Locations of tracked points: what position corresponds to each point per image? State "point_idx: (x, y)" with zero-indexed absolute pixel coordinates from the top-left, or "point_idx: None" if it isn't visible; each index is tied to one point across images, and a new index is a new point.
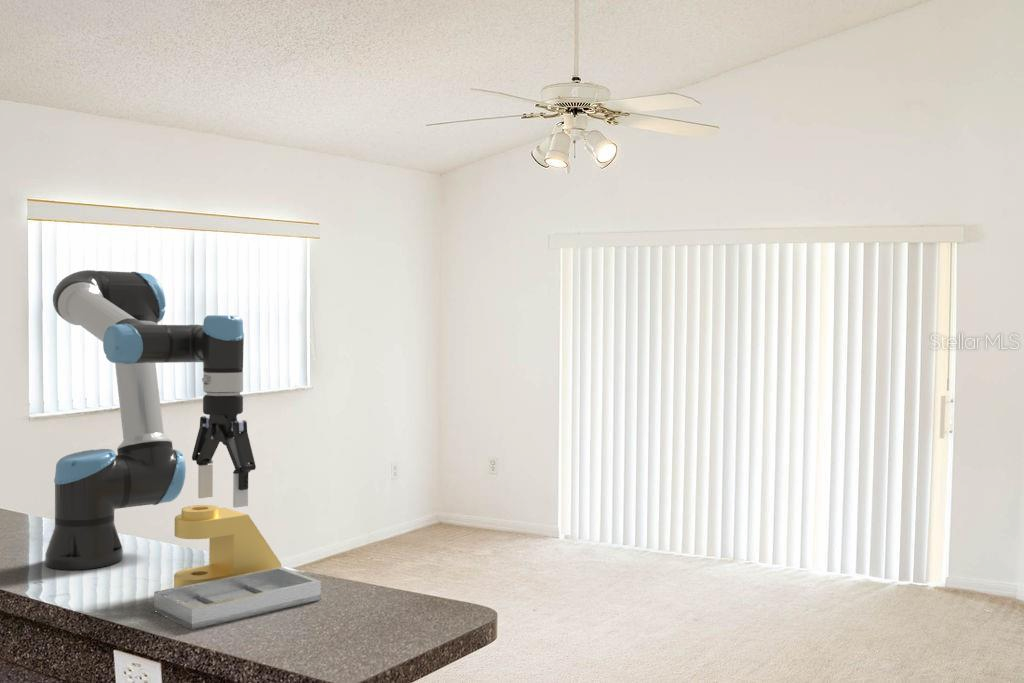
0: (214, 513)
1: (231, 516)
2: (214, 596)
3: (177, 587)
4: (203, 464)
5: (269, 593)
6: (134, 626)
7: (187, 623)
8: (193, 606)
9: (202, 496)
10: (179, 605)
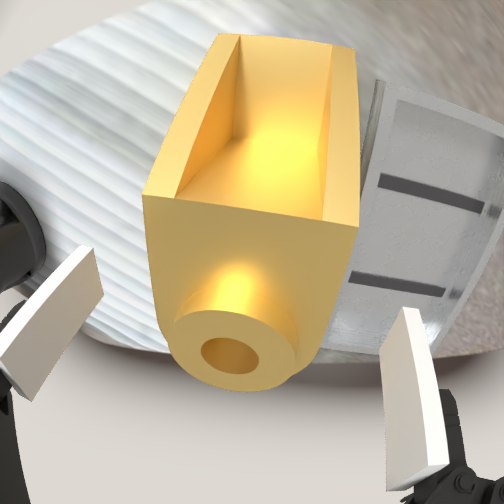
0: (295, 342)
1: (328, 287)
2: (360, 254)
3: None
4: (6, 381)
5: (490, 251)
6: (346, 361)
7: None
8: None
9: (98, 290)
10: None
